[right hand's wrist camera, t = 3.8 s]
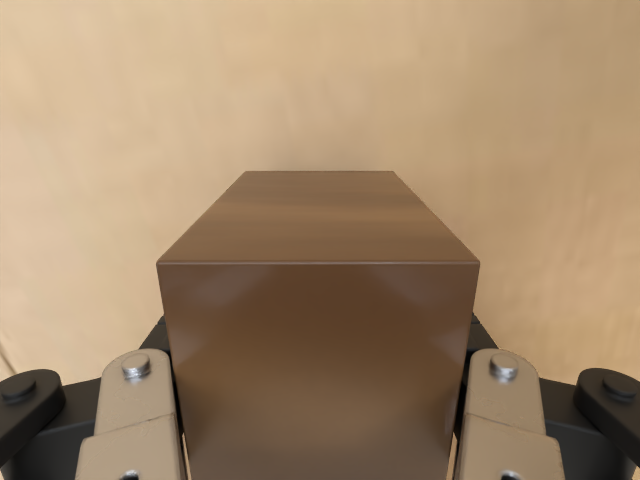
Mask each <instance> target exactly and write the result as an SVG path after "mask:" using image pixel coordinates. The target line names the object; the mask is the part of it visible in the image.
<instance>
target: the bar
mask: <svg viewBox="0 0 640 480" xmlns="http://www.w3.org/2000/svg"><path fill="white" fill-rule="evenodd" d="M156 267H157V273H158V279H159V285H160V291H161V297H162V303H163V309H164V315H165V321H166V327H167V333H168V339H169V345H170V351H171V357H172V363H173V369H174V375H175V381H176V388H177V394H178V400H179V406H180V412H181V418H182V424H183V430H184V436H185V442H186V448H187V454H188V460H189V466H190V472H191V478H192V480H446V476H447V469H448V463H449V457H450V450H451V444H452V438H453V431H454V425H455V419H456V413H457V406H458V400H459V394H460V387H461V381H462V375H463V368H464V362H465V356H466V350H467V343H468V337H469V331H470V324H471V318H472V312H473V305H474V299H475V293H476V287H477V280H478V274H479V268H480V262H479V260H478V259H477V258H476V257H475V256H474V255H473V254H472V253H471V252H470V250H469V249H468V248H467V247H466V246H465V245H464V244H463V243H462V242H461V241H460V240H459V239H458V238H457V237H456V236H455V235H454V234H453V233H452V232H451V231H450V230H449V229H448V228H447V227H446V226H445V225H444V224H443V223H442V222H441V221H440V219H439V218H438V217H437V216H436V215H435V214H434V213H433V212H432V211H431V210H430V209H429V208H428V207H427V206H426V205H425V204H424V203H423V202H422V201H421V200H420V199H419V198H418V197H417V196H416V195H415V194H414V193H413V192H412V191H411V189H410V188H409V187H408V186H407V185H406V184H405V183H404V182H403V181H402V180H401V179H400V178H399V177H398V176H397V175H396V174H395V173H394V172H393V171H246V172H244V173H243V174H242V175H241V176H240V177H239V178H238V179H237V180H236V181H235V182H234V183H233V184H232V185H231V187H230V188H229V189H228V190H227V191H226V192H225V193H224V194H223V195H222V196H221V197H220V198H219V199H218V200H217V201H216V202H215V203H214V204H213V205H212V206H211V207H210V208H209V209H208V210H207V211H206V212H205V213H204V214H203V215H202V216H201V217H200V218H199V219H198V220H197V221H196V222H195V223H194V224H193V225H192V226H191V227H190V228H189V229H188V230H187V231H186V232H185V233H184V234H183V235H182V236H181V237H180V238H179V239H178V240H177V241H176V242H175V243H174V244H173V245H172V246H171V247H170V248H169V249H168V250H167V251H166V252H165V253H164V254H163V255H162V256H161V257H160V258H159V259H158V260H157V263H156Z"/></svg>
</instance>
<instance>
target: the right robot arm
mask: <svg viewBox="0 0 640 480" xmlns="http://www.w3.org/2000/svg"><path fill="white" fill-rule="evenodd" d="M183 432H184V430H183V424H182V418H181V412H180V406H179V400H178V394H177V388H176V381H175V375H174V369H173V363H172V357H171V351H170V345H169V339H168V333H167V327H166V321H165V315H164V316H162V317H161V318H160V320H159V321H158V324H157V325H155V327H154V328H153V330H152V331H151V332H150V334H149V335H148V337H147V338H146V339H145V341H144V342H143V344H142V345H141V346H140V348H139V349H138V350H135V351H131V352H129V353H126V354H124V355H121V356H120V357H118V358H116V359H115V360H113V361H112V362H111V363H110V364H109V365H107V367H106V368H105V369H104V371H103V373H102V377H100V378H97V379H93V380H89V381H84V382H79V383H75V384H70V385H65V386H62V383H61V380H60V376H59V375H58V373H56V372H55V371H52V370H48V369H38V370H31V371H27V372H23V373H20V374H17V375H14V376H12V377H9V378H7V379H5V380H3V381H1V382H0V471H1V473H2V475H3V478H4V480H188V474H187V466H186V458H185V450H184V444H183V438H182V435H183ZM454 434H455V436H456V439H457V444H456V450H455V458H454V466H453V474H452V480H632V477H633V474H634V472H635V469H636V467H637V466H638V467H639V468H640V382H639V381H637V380H636V379H634V378H632V377H629V376H627V375H625V374H622V373H619V372H616V371H613V370H608V369H602V368H590V369H586V370H584V371H582V372H581V373H580V374H579V377H578V380H577V384H576V386H575V385H571V384H566V383H561V382H556V381H551V380H547V379H543V378H539V377H538V373H537V371H536V369H535V368H534V367H533V365H531V364H530V363H529V362H528V361H527V360H525V359H524V358H522V357H520V356H519V355H516V354H514V353H511V352H509V351H505V350H501V349H499V348H498V347H497V346H496V344H495V343H494V341H493V340H492V338H491V337H490V336H489V334H488V333H487V331H486V330H485V329H484V327H483V326H482V324H480V321H479V320H478V319H477V317H476V316H474V313H473V312H472V318H471V324H470V331H469V337H468V343H467V350H466V356H465V362H464V368H463V375H462V381H461V387H460V394H459V400H458V406H457V413H456V419H455V425H454Z"/></svg>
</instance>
